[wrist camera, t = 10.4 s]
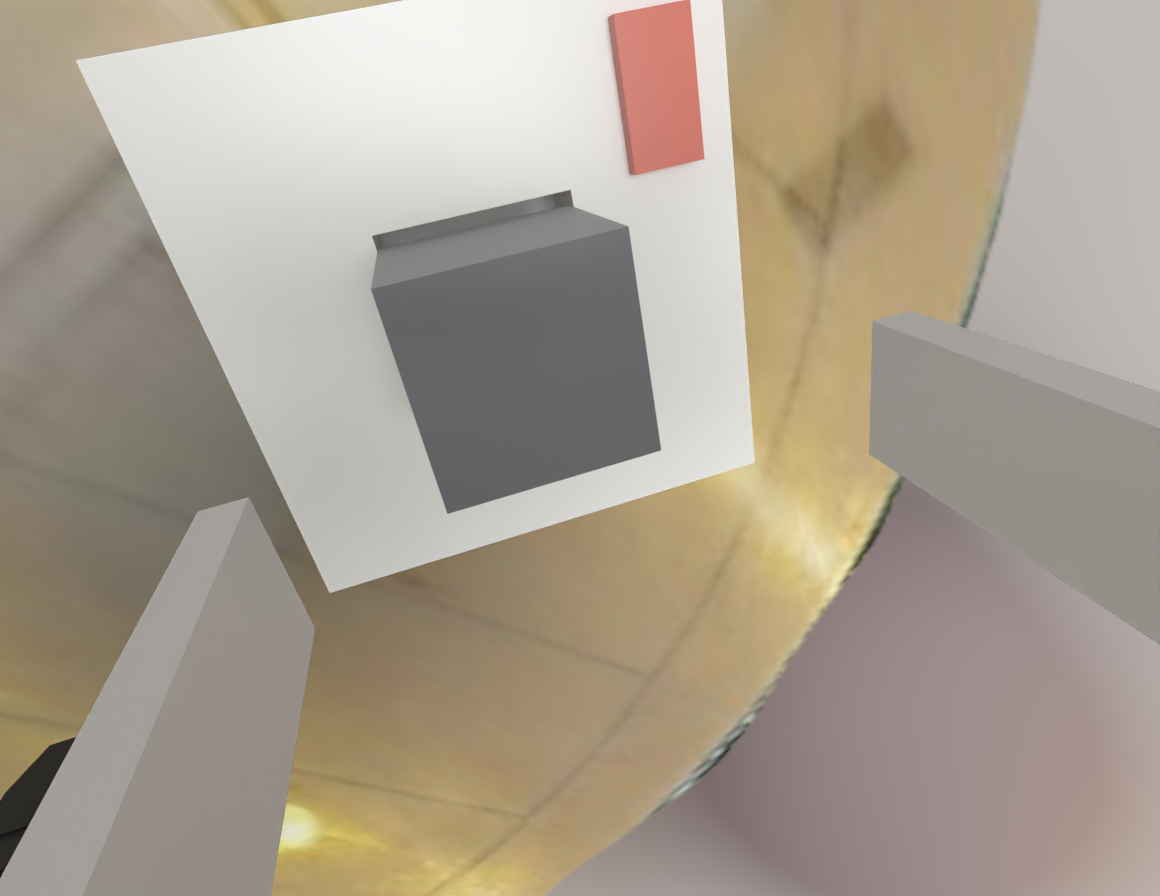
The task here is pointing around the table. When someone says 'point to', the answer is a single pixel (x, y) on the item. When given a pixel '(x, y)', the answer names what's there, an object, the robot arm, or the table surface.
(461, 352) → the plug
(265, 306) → the socket plate
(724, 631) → the table surface
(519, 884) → the table surface
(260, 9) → the table surface
